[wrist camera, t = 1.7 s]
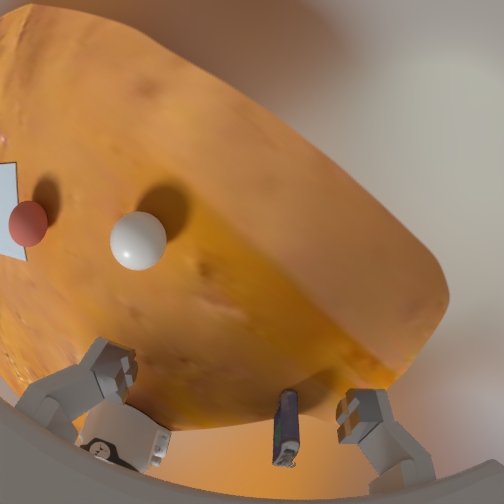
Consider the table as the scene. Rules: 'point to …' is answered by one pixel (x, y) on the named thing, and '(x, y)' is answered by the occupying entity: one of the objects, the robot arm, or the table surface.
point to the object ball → (28, 223)
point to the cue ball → (138, 240)
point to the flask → (286, 430)
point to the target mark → (8, 211)
